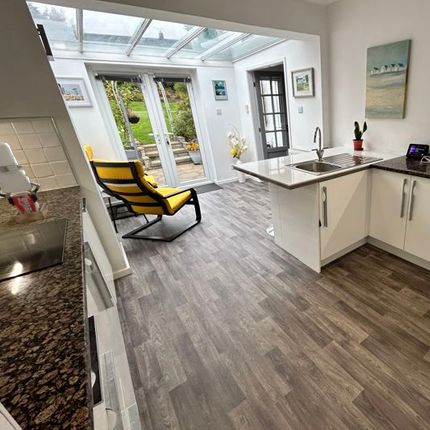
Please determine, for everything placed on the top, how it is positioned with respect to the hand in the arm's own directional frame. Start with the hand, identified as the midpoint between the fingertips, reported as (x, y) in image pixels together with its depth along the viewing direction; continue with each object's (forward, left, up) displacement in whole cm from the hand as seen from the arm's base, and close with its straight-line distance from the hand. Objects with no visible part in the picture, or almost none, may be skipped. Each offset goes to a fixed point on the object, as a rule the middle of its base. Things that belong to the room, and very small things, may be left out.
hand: (25, 203), depth 133 cm
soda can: (0, 0, -7) cm, 7 cm away
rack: (0, +4, -9) cm, 10 cm away
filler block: (0, +9, -8) cm, 12 cm away
